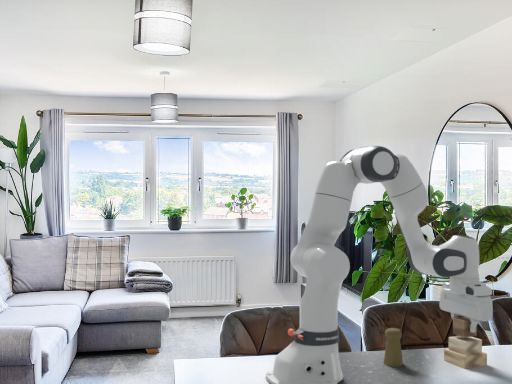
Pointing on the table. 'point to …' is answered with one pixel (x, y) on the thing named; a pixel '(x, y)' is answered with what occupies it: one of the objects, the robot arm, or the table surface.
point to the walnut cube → (462, 327)
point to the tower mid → (465, 345)
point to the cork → (393, 348)
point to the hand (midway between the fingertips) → (464, 329)
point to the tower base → (465, 359)
